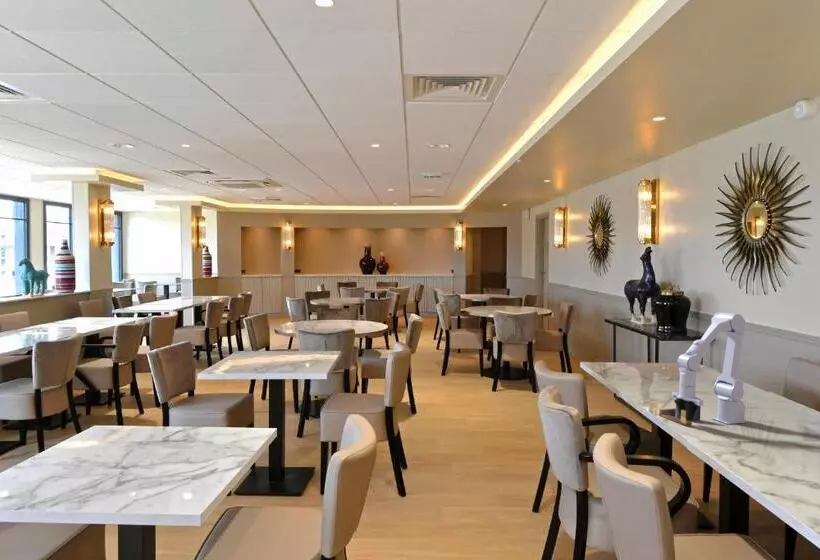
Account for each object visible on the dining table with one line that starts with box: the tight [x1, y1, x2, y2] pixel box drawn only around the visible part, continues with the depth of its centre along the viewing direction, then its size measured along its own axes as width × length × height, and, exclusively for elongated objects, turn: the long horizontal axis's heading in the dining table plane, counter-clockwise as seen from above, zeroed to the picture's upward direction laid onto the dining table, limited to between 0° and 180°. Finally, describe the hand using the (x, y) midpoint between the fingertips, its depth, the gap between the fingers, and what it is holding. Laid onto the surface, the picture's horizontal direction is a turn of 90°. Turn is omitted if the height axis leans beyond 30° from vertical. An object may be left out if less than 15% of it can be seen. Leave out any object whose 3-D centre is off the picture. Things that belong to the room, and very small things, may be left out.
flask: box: [674, 397, 701, 422], centre depth 229 cm, size 9×3×11 cm, turn 73°
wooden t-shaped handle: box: [658, 407, 693, 427], centre depth 228 cm, size 12×15×6 cm
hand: (686, 419), depth 220 cm, fingers open, 3 cm apart
